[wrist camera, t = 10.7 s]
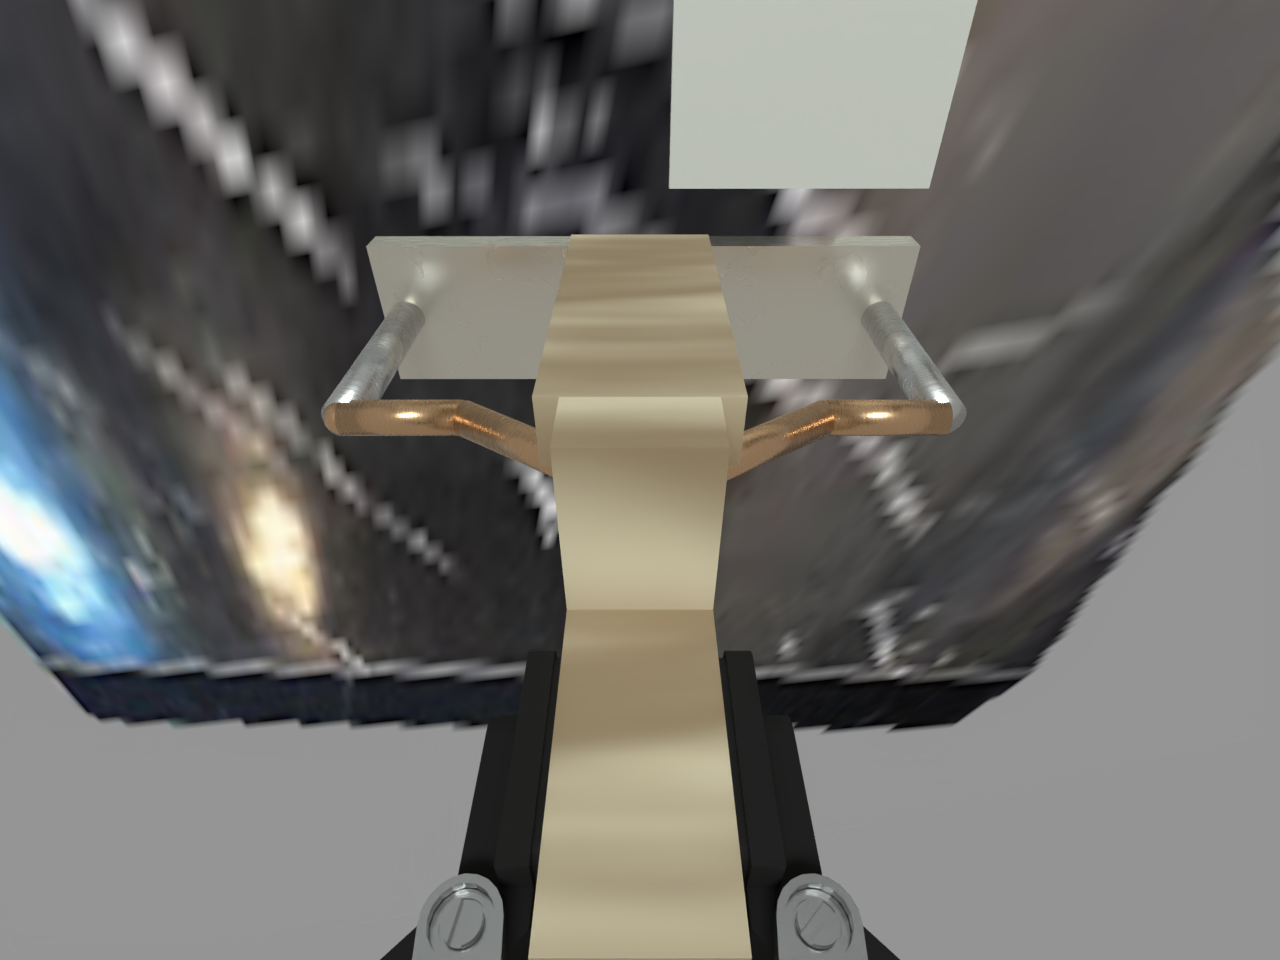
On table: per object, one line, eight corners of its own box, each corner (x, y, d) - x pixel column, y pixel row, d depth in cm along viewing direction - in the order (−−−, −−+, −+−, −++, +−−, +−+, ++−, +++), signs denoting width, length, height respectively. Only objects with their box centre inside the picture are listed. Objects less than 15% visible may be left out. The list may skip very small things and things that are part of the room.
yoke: (571, 234, 19) (430, 817, 6) (708, 234, 19) (850, 818, 6) (589, 519, 26) (540, 1073, 13) (690, 519, 26) (739, 1073, 13)
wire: (375, 236, 27) (203, 417, 16) (910, 236, 27) (1085, 417, 16) (407, 366, 31) (284, 582, 20) (878, 365, 31) (1002, 582, 20)
